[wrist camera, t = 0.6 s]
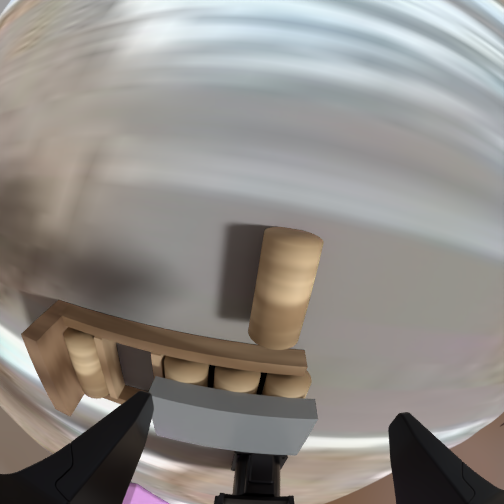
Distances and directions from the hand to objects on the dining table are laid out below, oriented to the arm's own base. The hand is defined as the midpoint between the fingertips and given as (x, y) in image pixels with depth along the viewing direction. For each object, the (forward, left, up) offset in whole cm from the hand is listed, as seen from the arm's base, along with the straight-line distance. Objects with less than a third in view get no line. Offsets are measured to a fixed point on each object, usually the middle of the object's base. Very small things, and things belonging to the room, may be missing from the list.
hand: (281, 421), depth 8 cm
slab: (-11, +2, -8) cm, 14 cm away
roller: (0, 0, -10) cm, 10 cm away
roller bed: (-11, +7, -11) cm, 17 cm away
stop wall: (-11, +18, -11) cm, 24 cm away
